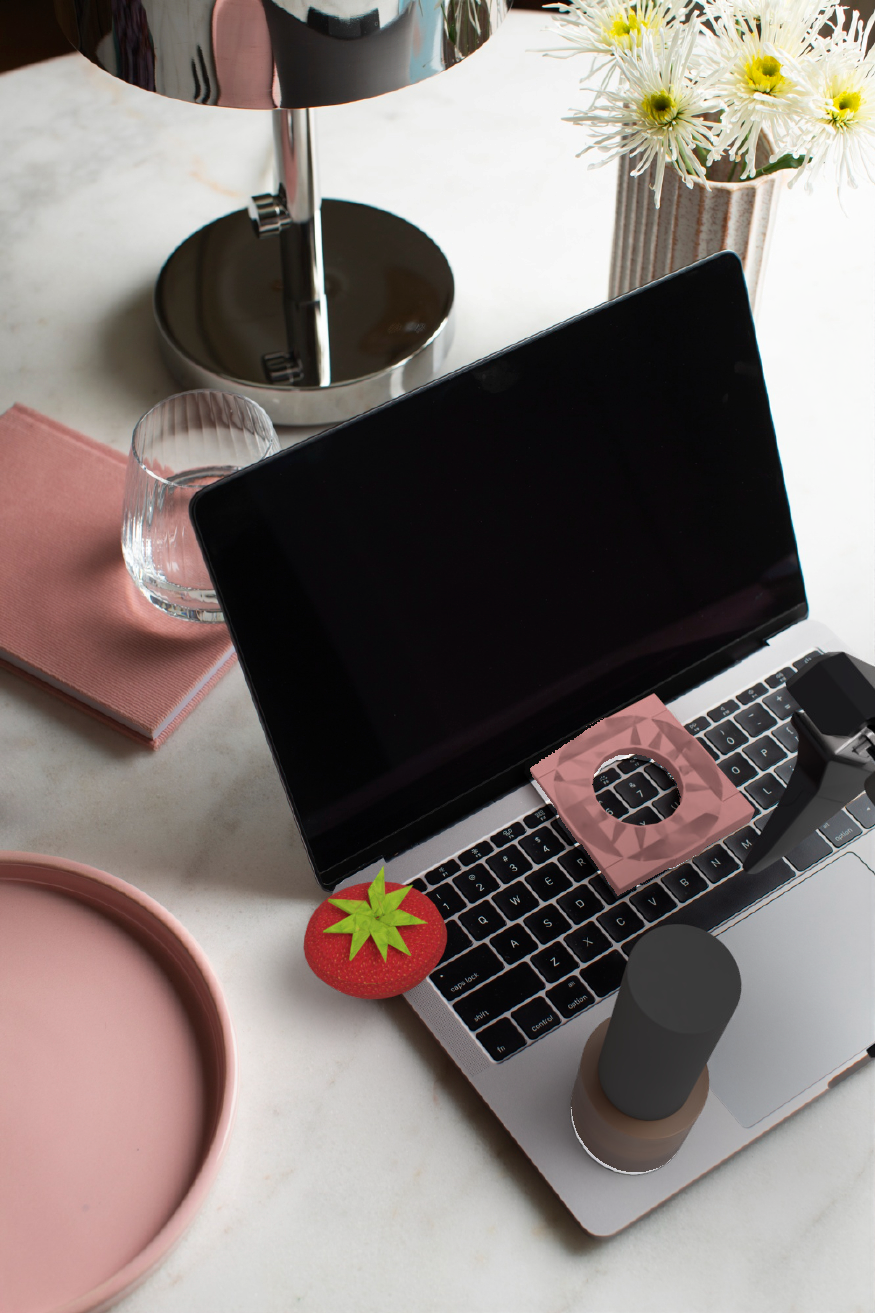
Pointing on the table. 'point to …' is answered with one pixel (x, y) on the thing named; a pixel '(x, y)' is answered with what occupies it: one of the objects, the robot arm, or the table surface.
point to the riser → (627, 1118)
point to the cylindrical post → (667, 1019)
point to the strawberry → (375, 939)
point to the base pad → (650, 848)
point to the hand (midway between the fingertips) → (806, 957)
